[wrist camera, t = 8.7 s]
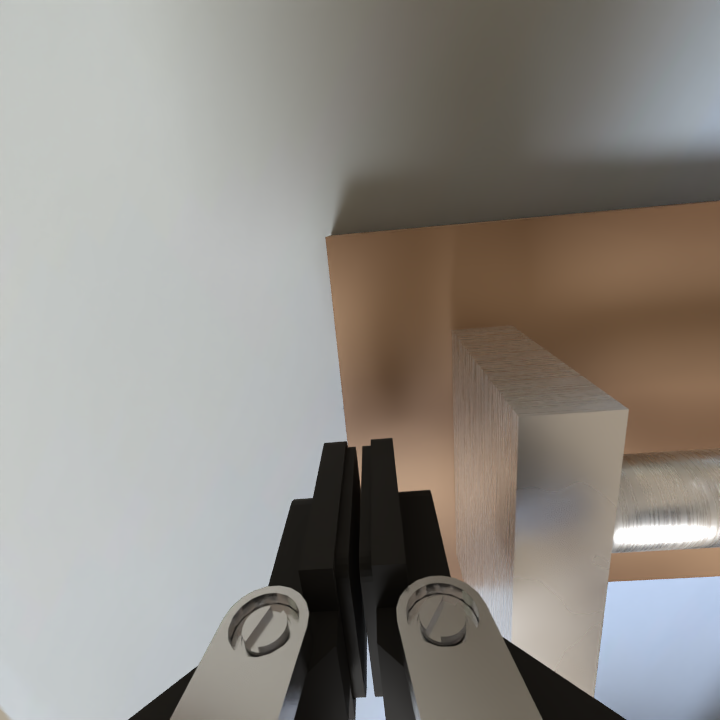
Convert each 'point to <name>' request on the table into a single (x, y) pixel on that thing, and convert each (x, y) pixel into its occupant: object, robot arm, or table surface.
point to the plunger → (559, 496)
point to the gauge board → (535, 335)
